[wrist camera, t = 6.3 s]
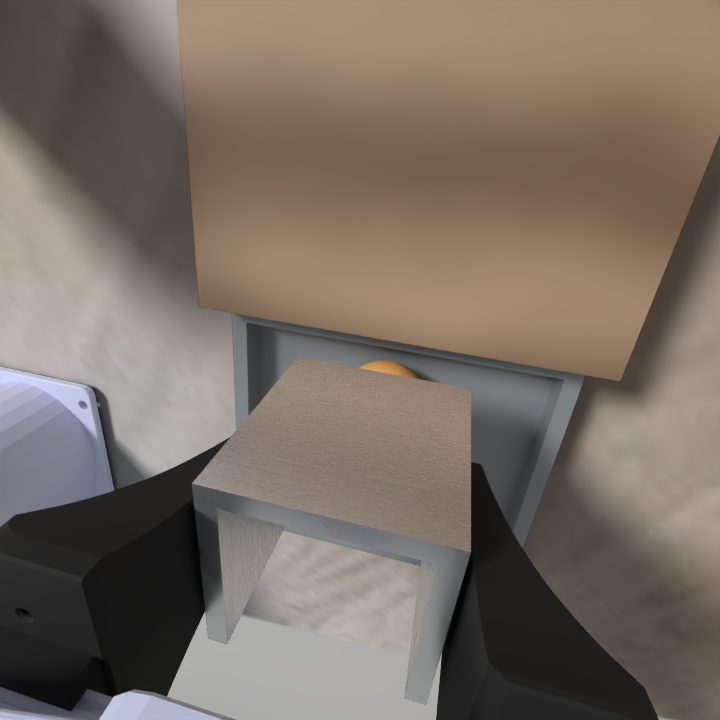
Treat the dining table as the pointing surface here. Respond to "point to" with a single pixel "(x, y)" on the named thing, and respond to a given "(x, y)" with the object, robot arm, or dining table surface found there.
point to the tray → (482, 375)
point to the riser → (448, 166)
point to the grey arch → (343, 490)
